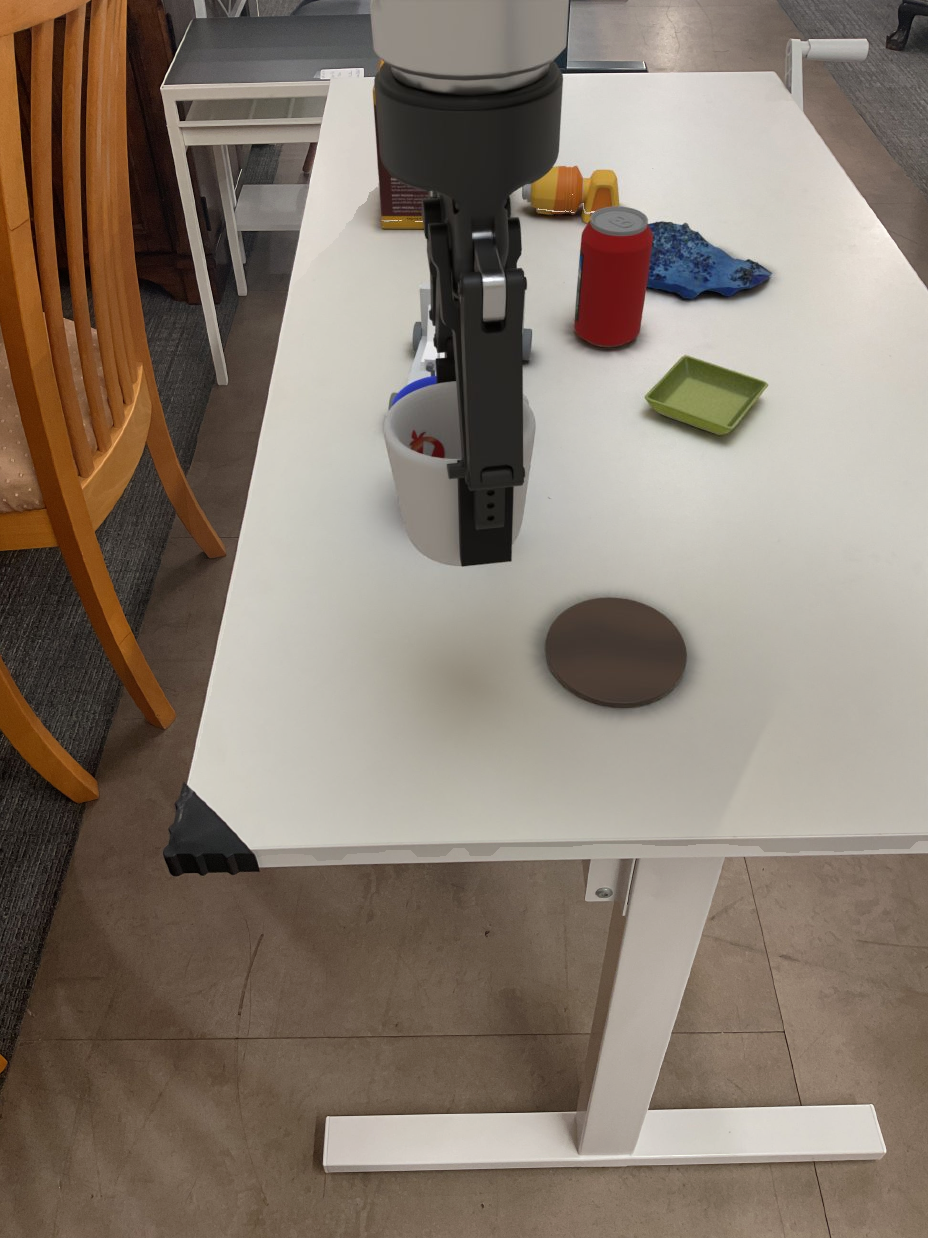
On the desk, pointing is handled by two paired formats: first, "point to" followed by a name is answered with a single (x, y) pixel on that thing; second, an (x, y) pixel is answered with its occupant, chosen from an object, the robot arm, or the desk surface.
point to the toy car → (425, 346)
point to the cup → (438, 468)
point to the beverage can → (612, 276)
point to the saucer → (705, 395)
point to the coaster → (616, 652)
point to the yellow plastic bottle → (572, 191)
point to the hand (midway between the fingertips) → (473, 503)
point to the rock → (696, 264)
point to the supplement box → (397, 193)
